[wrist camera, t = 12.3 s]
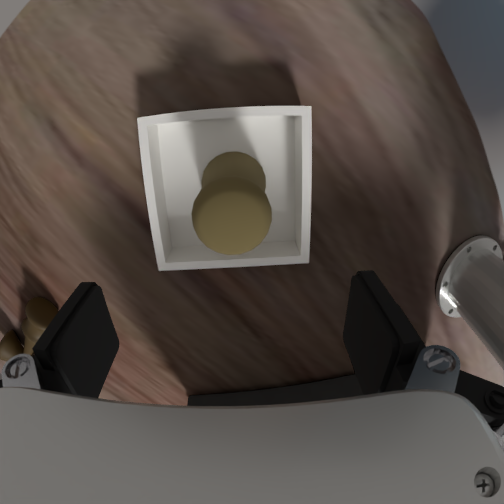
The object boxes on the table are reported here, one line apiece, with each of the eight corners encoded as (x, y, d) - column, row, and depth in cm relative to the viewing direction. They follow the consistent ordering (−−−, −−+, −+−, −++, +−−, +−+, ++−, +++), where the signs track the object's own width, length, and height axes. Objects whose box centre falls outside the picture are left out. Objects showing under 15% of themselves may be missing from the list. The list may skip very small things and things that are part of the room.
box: (301, 106, 26) (311, 106, 22) (301, 245, 32) (308, 262, 29) (150, 116, 26) (137, 117, 22) (167, 252, 32) (158, 270, 28)
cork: (189, 172, 28) (161, 209, 18) (245, 139, 27) (250, 155, 17) (222, 224, 30) (215, 284, 20) (277, 194, 29) (298, 241, 19)
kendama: (82, 319, 36) (47, 382, 42) (29, 276, 33) (5, 350, 39) (64, 347, 31) (34, 406, 36) (5, 298, 28) (-10, 371, 33)
